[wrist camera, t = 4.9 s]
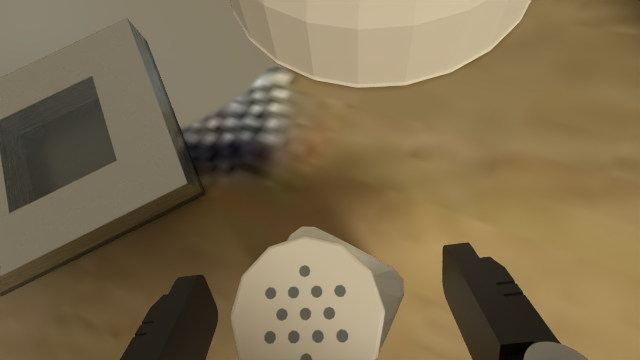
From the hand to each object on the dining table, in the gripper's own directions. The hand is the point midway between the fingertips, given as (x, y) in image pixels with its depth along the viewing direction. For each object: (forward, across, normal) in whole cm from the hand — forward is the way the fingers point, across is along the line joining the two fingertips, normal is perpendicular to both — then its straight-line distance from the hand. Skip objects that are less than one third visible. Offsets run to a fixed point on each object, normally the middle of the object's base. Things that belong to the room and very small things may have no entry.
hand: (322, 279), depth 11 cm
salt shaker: (+3, 0, +4) cm, 5 cm away
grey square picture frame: (+10, +14, -3) cm, 17 cm away
